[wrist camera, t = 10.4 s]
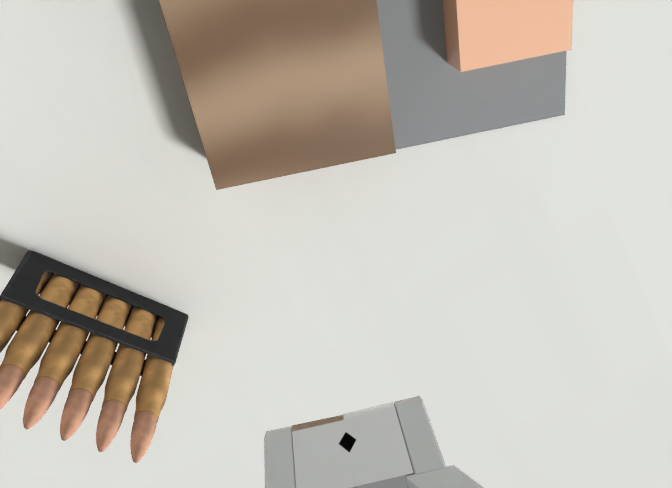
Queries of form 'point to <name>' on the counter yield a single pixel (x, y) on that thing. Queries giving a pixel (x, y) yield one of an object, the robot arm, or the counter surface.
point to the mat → (457, 81)
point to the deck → (282, 83)
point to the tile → (504, 30)
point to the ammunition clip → (87, 348)
